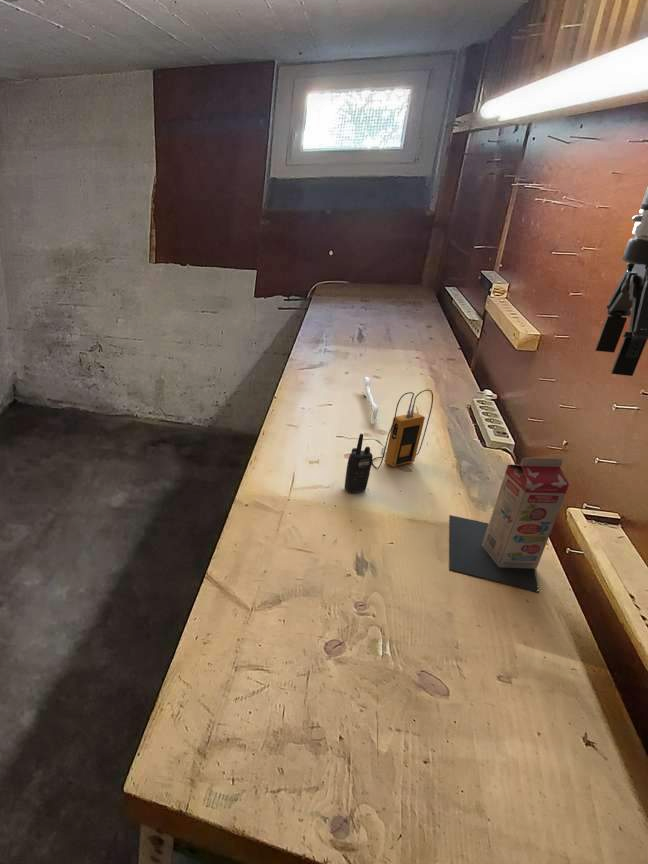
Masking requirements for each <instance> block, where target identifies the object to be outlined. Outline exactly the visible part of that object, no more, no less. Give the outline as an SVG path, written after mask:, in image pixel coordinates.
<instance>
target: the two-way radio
mask: <svg viewBox="0 0 648 864" xmlns="http://www.w3.org/2000/svg"><path fill="white" fill-rule="evenodd" d="M363 440H364V433H359V436H358V441H357V445H356V447H353V448H351V453H350V454H349V456H348V460H347V465H346V471H345V480H344V489H345V490H346V492H349V493H359V492H365V491H366V490H367V486H368V484H369V483H368V482H369V479H370V473H371V468H372V463H373V461H372V460H373V459H374V458H373V457H374V456H373V454H372V452H371V447H370V446H365V447H364V450H362V447H363Z"/></svg>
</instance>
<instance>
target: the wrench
mask: <svg viewBox="0 0 648 864" xmlns="http://www.w3.org/2000/svg"><path fill="white" fill-rule="evenodd" d="M370 387H371V379H370V377H364V379H363V388H362V395H363V396H365V397H366V400H367V402H368V404H369V405H368V406H369V407H370V411H371V419H370V423H371V424H373V425H375V424H376V422H377V418H378V411H379V404H376V403H375V401H374V397H373V395H372V392H371V389H370Z"/></svg>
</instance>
